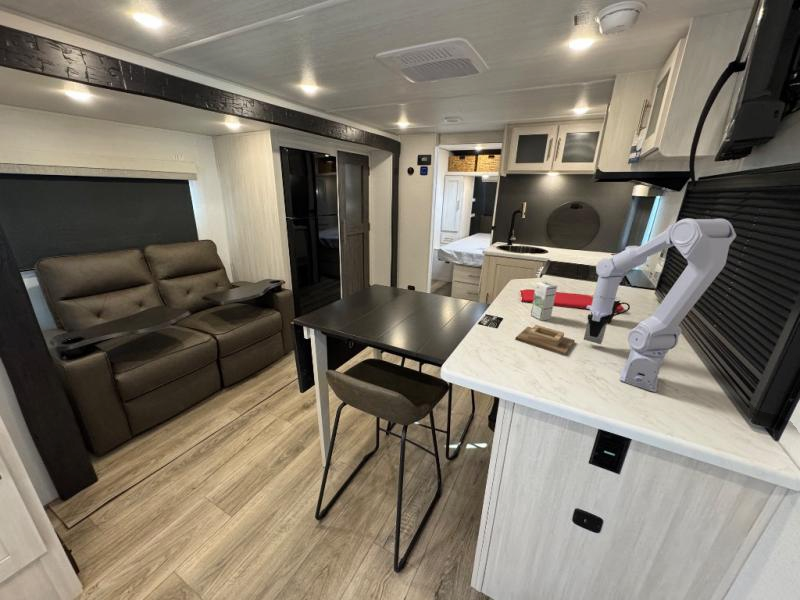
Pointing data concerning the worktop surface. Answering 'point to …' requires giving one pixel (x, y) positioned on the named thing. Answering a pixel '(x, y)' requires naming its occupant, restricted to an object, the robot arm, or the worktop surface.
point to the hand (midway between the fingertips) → (594, 334)
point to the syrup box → (543, 300)
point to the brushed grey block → (594, 339)
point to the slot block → (546, 339)
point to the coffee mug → (616, 304)
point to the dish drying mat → (564, 299)
